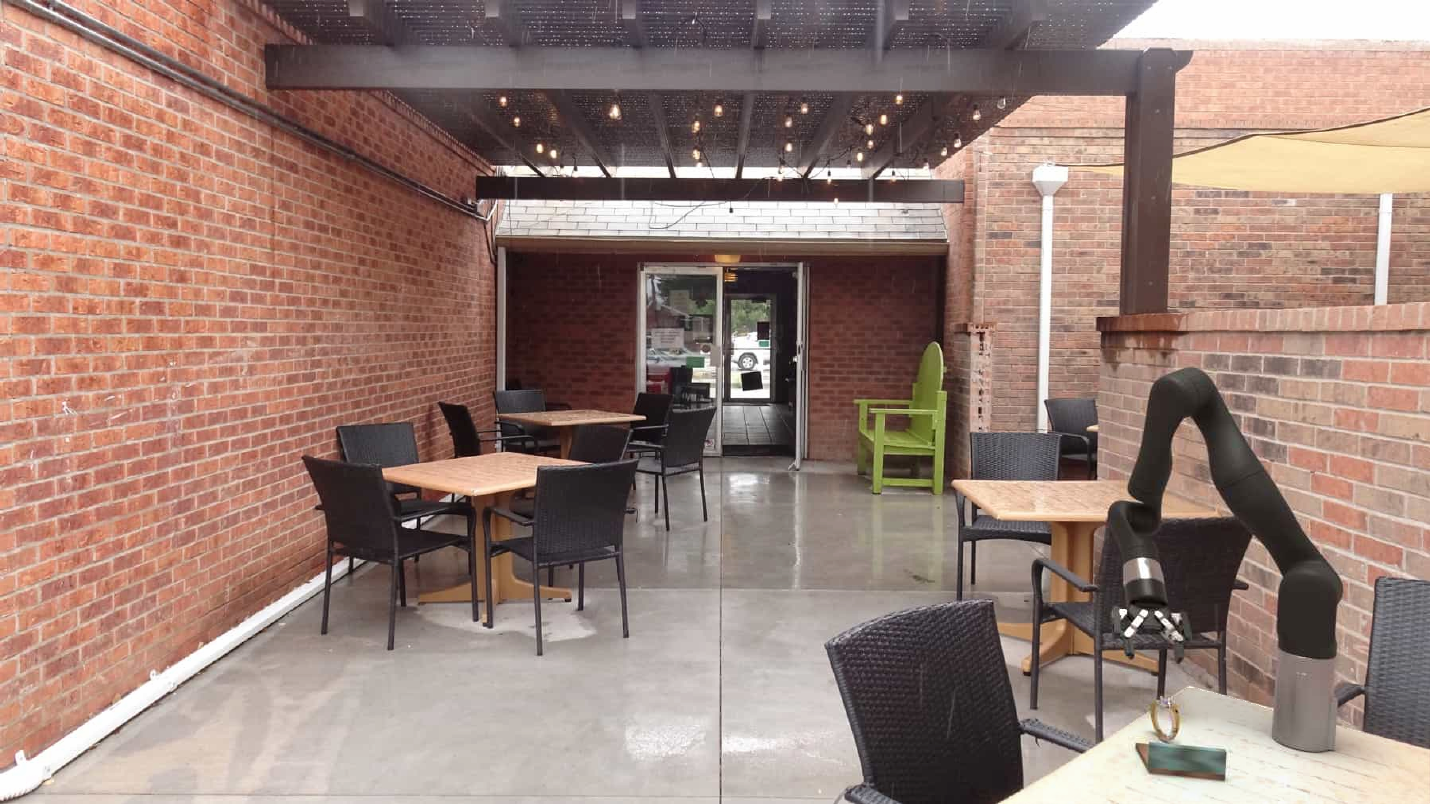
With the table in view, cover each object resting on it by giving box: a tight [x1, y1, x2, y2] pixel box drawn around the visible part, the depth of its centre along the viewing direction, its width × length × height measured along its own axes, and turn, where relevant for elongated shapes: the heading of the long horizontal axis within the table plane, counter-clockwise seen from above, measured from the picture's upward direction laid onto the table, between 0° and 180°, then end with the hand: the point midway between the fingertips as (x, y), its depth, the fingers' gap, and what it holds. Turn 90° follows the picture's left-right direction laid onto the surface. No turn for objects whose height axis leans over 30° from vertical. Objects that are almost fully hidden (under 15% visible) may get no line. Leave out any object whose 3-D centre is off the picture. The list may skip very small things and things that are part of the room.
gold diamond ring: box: [1149, 695, 1181, 741], centre depth 177 cm, size 7×3×8 cm, turn 5°
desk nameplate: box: [1135, 741, 1228, 782], centre depth 168 cm, size 12×10×5 cm
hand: (1155, 659), depth 185 cm, fingers open, 8 cm apart
